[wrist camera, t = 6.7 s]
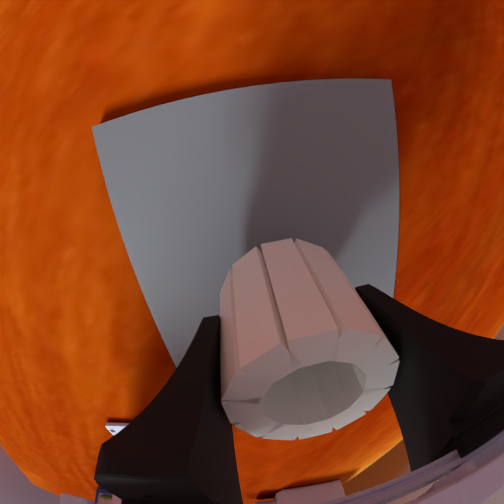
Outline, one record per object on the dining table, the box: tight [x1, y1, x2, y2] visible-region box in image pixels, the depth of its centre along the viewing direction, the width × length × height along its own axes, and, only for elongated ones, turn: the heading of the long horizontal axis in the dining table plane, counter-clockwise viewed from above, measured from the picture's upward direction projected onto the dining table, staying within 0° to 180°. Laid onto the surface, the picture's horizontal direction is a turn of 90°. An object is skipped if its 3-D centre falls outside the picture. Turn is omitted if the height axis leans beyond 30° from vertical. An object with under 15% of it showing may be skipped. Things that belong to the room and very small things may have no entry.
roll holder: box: [92, 79, 399, 368], centre depth 14 cm, size 18×14×3 cm
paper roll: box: [220, 238, 400, 440], centre depth 10 cm, size 5×5×6 cm
